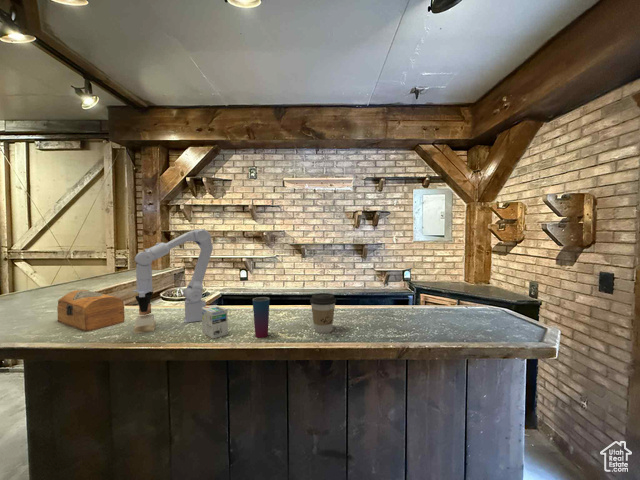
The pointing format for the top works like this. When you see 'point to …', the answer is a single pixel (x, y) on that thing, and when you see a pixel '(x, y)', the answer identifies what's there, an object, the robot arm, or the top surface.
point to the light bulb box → (214, 321)
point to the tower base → (144, 328)
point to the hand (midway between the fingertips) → (145, 310)
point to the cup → (261, 316)
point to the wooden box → (90, 310)
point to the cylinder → (147, 310)
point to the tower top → (144, 320)
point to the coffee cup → (323, 311)
